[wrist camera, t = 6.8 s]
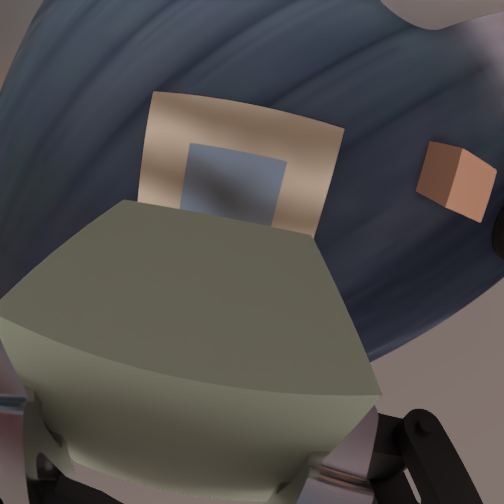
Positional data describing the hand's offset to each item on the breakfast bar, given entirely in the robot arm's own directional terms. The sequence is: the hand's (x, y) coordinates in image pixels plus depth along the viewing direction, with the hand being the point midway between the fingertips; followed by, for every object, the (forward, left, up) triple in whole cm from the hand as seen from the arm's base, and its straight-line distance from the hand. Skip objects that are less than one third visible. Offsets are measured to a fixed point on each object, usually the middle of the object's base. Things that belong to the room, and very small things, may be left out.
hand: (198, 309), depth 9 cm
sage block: (0, 0, -1) cm, 1 cm away
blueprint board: (0, 0, -15) cm, 15 cm away
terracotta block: (-7, +19, -15) cm, 25 cm away
